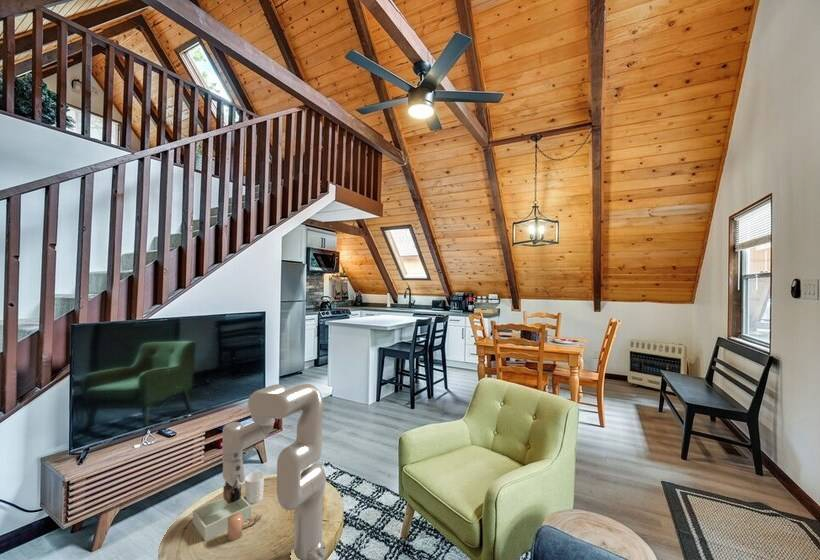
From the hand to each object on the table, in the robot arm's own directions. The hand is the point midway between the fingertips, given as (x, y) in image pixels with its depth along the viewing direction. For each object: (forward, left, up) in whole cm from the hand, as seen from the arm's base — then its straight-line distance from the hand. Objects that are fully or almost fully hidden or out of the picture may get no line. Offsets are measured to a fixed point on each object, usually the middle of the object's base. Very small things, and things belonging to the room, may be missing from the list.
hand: (232, 497), depth 148 cm
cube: (0, 0, 0) cm, 0 cm away
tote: (0, +4, -8) cm, 9 cm away
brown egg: (-12, +4, -8) cm, 15 cm away
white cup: (+4, -11, -8) cm, 14 cm away
